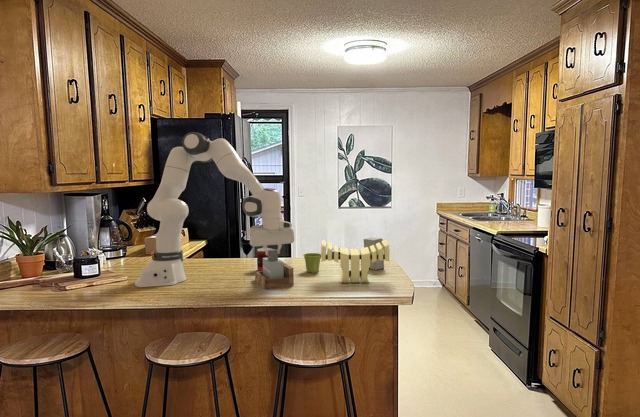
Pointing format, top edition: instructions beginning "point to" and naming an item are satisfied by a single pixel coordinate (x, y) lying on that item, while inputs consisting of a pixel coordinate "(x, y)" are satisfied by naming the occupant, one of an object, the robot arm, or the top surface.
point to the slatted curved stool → (355, 260)
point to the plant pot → (312, 262)
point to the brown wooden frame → (277, 282)
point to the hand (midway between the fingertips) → (272, 254)
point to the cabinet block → (273, 266)
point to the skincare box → (373, 241)
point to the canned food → (261, 258)
